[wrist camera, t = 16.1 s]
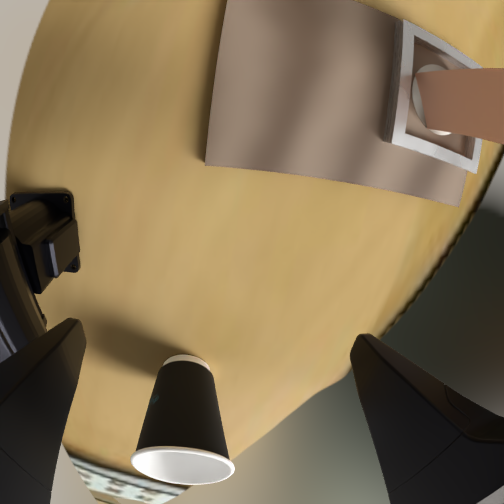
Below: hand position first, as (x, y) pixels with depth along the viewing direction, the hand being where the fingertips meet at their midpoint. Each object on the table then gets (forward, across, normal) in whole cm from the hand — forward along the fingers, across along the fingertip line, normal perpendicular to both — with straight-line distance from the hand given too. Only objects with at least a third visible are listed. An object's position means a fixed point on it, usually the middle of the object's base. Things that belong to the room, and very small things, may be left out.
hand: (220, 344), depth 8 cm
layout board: (+13, -10, -10) cm, 19 cm away
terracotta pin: (+12, -16, -12) cm, 23 cm away
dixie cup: (+13, +2, +16) cm, 21 cm away
